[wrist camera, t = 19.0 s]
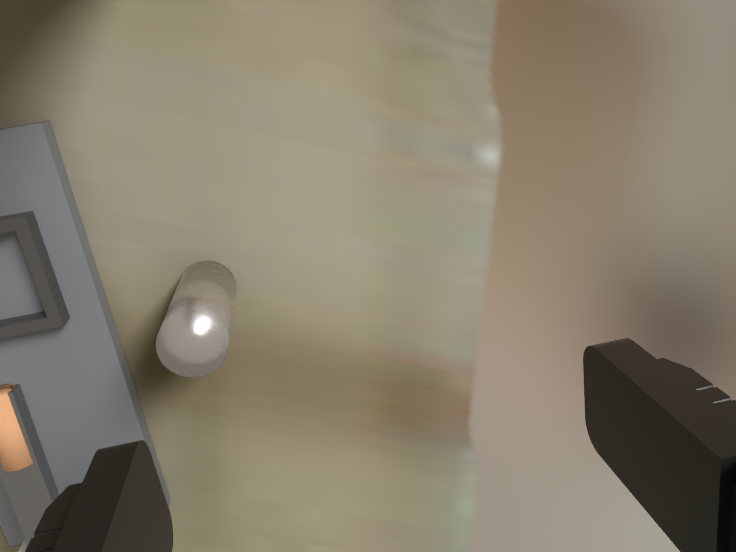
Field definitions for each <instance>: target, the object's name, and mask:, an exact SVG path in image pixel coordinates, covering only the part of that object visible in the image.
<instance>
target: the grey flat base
mask: <svg viewBox="0 0 736 552" xmlns="http://www.w3.org/2000/svg"><path fill="white" fill-rule="evenodd" d="M9 383H11V384H15V385H16V384H20V386H21V389H22V392H23V394H24V397H25V400H26V403H27V406H28V408H29V411H30V414H31V417H32V420H33V422H34V425H35V428H36V431H37V434H38V436H39V439H40V442H41V445H42V448H43V450H44V453H45V456H46V459H47V462H48V464H49V467H50V470H51V473H52V476H53V478H54V481H55V484H56V487H57V490H58V492H59V495H60V494H61V493H62V492H63V491H64V490H65V489H66V488H67V487H68V486H69V485H73V484H78V483H82V482H83V480H84V477H85V475H86V473H87V471H88V468H89V466H90V464H91V461H92V459H93V457H94V455H95V453H96V451H97V450H98V449H101V448H106V447H111V446H116V445H120V444H125V443H130V442H134V441H139V440H144V441H145V442H146V443H147V445H148V447H149V449H150V452H151V455H152V458H153V461H154V464H155V467H156V470H157V473H158V477H159V480H160V483H161V486H162V489H163V492H164V495H165V498H166V501H167V504H168V508H169V503H170V496H169V493H168V490H167V486H166V483H165V480H164V477H163V474H162V471H161V468H160V465H159V461H158V458H157V455H156V452H155V449H154V446H153V443H152V440H151V436H150V433H149V430H148V427H147V424H146V421H145V418H144V415H143V411H142V408H141V405H140V402H139V399H138V396H137V393H136V390H135V386H134V383H133V380H132V377H131V374H130V371H129V368H128V365H127V361H126V358H125V355H124V352H123V349H122V346H121V343H120V340H119V336H118V333H117V330H116V327H115V324H114V321H113V318H112V314H111V311H110V308H109V305H108V302H107V299H106V296H105V293H104V289H103V286H102V283H101V280H100V277H99V274H98V271H97V268H96V264H95V261H94V258H93V255H92V252H91V249H90V246H89V243H88V239H87V236H86V233H85V230H84V227H83V224H82V221H81V218H80V214H79V211H78V208H77V205H76V202H75V199H74V196H73V193H72V189H71V186H70V183H69V180H68V177H67V174H66V171H65V168H64V164H63V161H62V158H61V155H60V152H59V149H58V146H57V143H56V139H55V136H54V133H53V130H52V127H51V124H50V121H46V122H39V123H33V124H27V125H21V126H15V127H9V128H3V129H0V385H2V384H9ZM0 526H1V529H2V531H3V533H4V535H5V538H6V540H7V542H8V544H9V547H10V546H15V545H19V544H22V545H21V547H20V549H19V551H18V552H25V550H26V548H27V543H26V540H25V538H24V535H23V533H22V530H21V528H20V525H19V522H18V520H17V517H16V515H15V512H14V509H13V507H12V504H11V502H10V499H9V496H8V494H7V491H6V489H5V486H4V483H3V481H2V478H1V476H0Z"/></svg>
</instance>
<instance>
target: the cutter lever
mask: <svg viewBox="0 0 736 552" xmlns="http://www.w3.org/2000/svg"><path fill="white" fill-rule="evenodd" d="M0 476H1V478H2V481H3V483H4V486H5V489H6V491H7V494H8V496H9V499H10V502H11V504H12V507H13V509H14V512H15V515H16V517H17V520H18V522H19V525H20V528H21V530H22V533H23V535H24V538H25V540H26V543H27V546H28V544H29V542H30V540H31V538H34V532H35V530H36V528H37V526H38V524H39V522H40V520H41V518H42V516H43V514H44V512H45V510H46V508H47V507H48V506H49V505H50V504H51V503H52V502H53V501H54V500H55V499H56V498H57V497H58V496H59V492H58V490H57V487H56V484H55V481H54V478H53V476H52V473H51V470H50V467H49V464H48V462H47V459H46V456H45V453H44V450H43V448H42V445H41V442H40V439H39V436H38V434H37V431H36V428H35V425H34V422H33V420H32V417H31V414H30V411H29V408H28V406H27V403H26V400H25V397H24V394H23V392H22V389H21V386H20V384H16V385H15V384H11V383H9V384H2V385H0Z"/></svg>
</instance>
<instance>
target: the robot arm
mask: <svg viewBox="0 0 736 552" xmlns="http://www.w3.org/2000/svg"><path fill="white" fill-rule="evenodd" d="M583 365H584V366H583V367H584V395H585V420H586V426H587V430H588V434H589V437H590V440H591V442H592V444H593V446H594V448H595V449H596V451H597V453H598V454H599V455H600V456H601V457H602V459H603V460H604V461H605V462H606V463H607V465H608V466H609V467H610V468H611V469H612V471H613V472H614V473H615V474H616V475H617V477H618V478H619V479H620V480H621V481H622V483H623V484H624V485H625V486H626V487H627V488H628V490H629V491H630V492H631V493H632V494H633V496H634V497H635V498H636V499H637V500H638V502H639V503H640V504H641V505H642V506H643V507H644V508H645V510H646V511H647V512H648V513H649V515H650V516H651V517H652V518H653V519H654V521H655V522H656V523H657V524H658V525H659V527H660V528H661V529H662V530H663V531H664V533H665V534H666V535H667V536H668V537H669V538H670V540H671V541H672V542H673V543H674V544H675V546H676V547H677V548H678V549H679V550H680V552H736V401H735V400H733V401H731V399H730V397H729V396H728V395H727V394H726V393H724V392H723V391H721V390H720V389H719V388H717V387H716V388H714V387H713V384H712V383H710V382H709V381H708V380H706V379H705V378H704V377H702V376H700V375H699V374H698V373H697V372H695V371H694V370H693V369H691V368H688V367H686V366H683V365H680V364H678V363H675V362H672V361H670V360H667V359H665V358H660V359H656V358H655V357H653V356H652V355H651V354H649V353H648V352H647V351H645V350H644V349H643V348H642V347H640V346H639V345H638V344H636V343H635V342H634V341H632V340H630V339H628V338H625V339H620V340H615V341H610V342H606V343H601V344H596V345H592V346H588V347H587V348H586V349H585V351H584V356H583ZM172 548H173V527H172V520H171V515H170V511H169V508H168V504H167V501H166V498H165V495H164V492H163V489H162V486H161V483H160V480H159V477H158V473H157V470H156V467H155V464H154V461H153V458H152V455H151V452H150V449H149V447H148V445H147V443H146V442H145V441H144V440H139V441H134V442H130V443H125V444H120V445H116V446H111V447H106V448H101V449H98V450H97V451H96V453H95V455H94V457H93V459H92V461H91V464H90V466H89V468H88V471H87V473H86V475H85V477H84V480H83V482H82V483H78V484H73V485H69V486H68V487H67V488H66V489H65V490H64V491H63V492H62V493H61V494H60V495H59V496H58V497H57V498H56V499H55V500H54V501H53V502H52V503H51V504H50V505H49V506H48V507H47V508H46V510H45V512H44V514H43V516H42V518H41V520H40V522H39V524H38V526H37V528H36V530H35V532H34V538H31V540H30V542H29V544H28V546H27V548H26V550H25V552H172Z"/></svg>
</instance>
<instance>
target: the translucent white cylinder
mask: <svg viewBox="0 0 736 552" xmlns="http://www.w3.org/2000/svg"><path fill="white" fill-rule="evenodd" d="M235 295H236V281H235V278H234V276H233V275H232V273H231V272H230V271H229V269H227V268H226V267H225V266H223V265H222V264H220V263H217V262H214V261H201V262H197V263H194V264H193V265H191V266H190V267H188V268H187V269H186V270H185V271H184V273H183V274H182V276H181V279H180V281H179V284H178V286H177V288H176V291H175V293H174V296H173V298H172V301H171V303H170V306H169V308H168V311H167V313H166V315H165V318H164V320H163V323H162V325H161V328H160V330H159V333H158V335H157V338H156V351H157V355H158V357H159V359H160V361H161V362H162V364H163V365H164V366H165V367H166V368H167V369H169V370H170V371H172V372H173V373H175V374H177V375H180V376H184V377H201V376H205V375H207V374H210V373H211V372H213V371H215V370H216V369H217V368H218V367H219V366H220V365H221V364H222V363H223V361H224V359H225V357H226V355H227V351H228V344H229V337H230V330H231V323H232V316H233V309H234V302H235Z"/></svg>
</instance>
